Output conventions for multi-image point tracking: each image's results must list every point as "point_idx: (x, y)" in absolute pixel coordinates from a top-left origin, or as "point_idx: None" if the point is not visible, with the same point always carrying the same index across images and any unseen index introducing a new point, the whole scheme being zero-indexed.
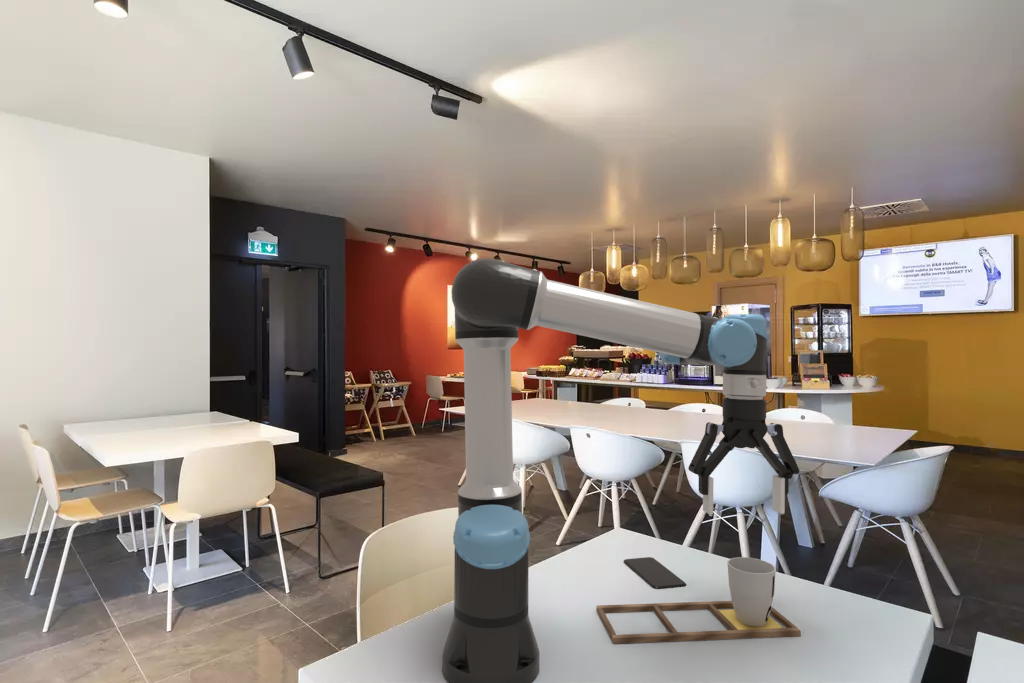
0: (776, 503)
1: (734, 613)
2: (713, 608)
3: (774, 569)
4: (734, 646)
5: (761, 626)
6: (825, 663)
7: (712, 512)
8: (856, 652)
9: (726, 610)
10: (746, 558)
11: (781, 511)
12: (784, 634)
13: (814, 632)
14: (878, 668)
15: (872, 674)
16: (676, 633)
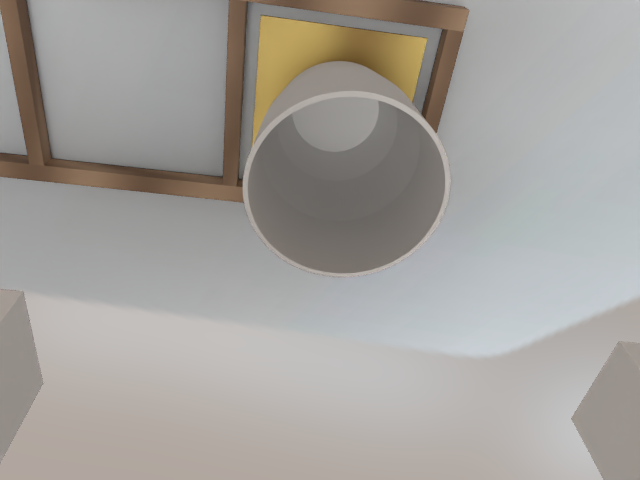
0: (629, 435)
1: (307, 55)
2: (230, 41)
3: (411, 251)
4: (198, 221)
5: (338, 151)
6: (367, 310)
7: (30, 395)
8: (476, 290)
9: (292, 27)
10: (392, 104)
11: (585, 433)
12: None
13: (465, 202)
14: (459, 339)
15: (427, 350)
16: (37, 170)
